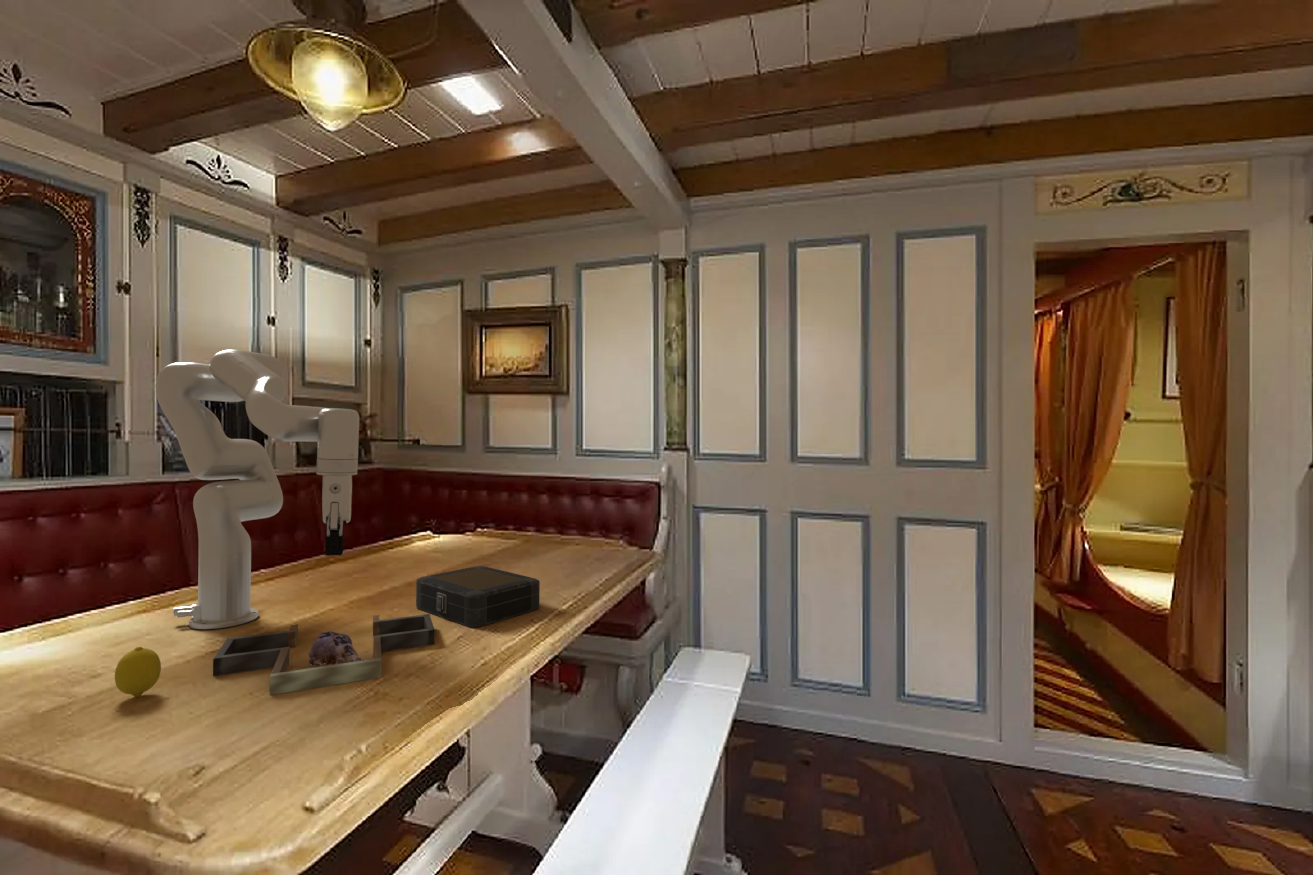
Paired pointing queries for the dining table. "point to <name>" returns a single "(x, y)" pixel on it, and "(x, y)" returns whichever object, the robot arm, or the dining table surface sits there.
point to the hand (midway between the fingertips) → (334, 554)
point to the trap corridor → (275, 653)
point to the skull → (332, 650)
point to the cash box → (477, 595)
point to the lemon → (137, 671)
